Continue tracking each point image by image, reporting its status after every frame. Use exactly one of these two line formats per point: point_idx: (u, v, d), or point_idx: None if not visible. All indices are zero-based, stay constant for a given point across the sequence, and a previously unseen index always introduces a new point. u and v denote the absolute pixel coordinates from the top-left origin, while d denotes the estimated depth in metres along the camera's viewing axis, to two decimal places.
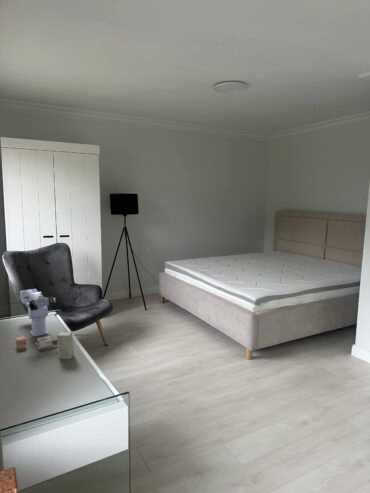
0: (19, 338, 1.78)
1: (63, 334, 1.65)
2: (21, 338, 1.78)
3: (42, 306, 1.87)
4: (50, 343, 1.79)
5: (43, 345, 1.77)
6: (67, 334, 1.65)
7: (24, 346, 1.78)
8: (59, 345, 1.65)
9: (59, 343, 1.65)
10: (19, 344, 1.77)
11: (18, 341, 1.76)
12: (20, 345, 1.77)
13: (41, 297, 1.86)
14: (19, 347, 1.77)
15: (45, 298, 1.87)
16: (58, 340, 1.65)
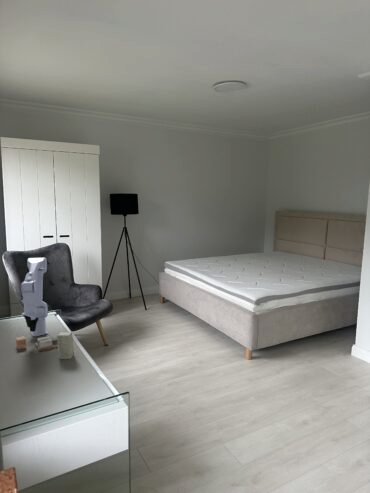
0: (19, 338, 1.78)
1: (63, 334, 1.65)
2: (21, 338, 1.78)
3: None
4: (50, 343, 1.79)
5: (43, 345, 1.77)
6: (67, 334, 1.65)
7: (24, 346, 1.78)
8: (59, 345, 1.65)
9: (59, 343, 1.65)
10: (19, 344, 1.77)
11: (18, 341, 1.76)
12: (20, 345, 1.77)
13: None
14: (19, 347, 1.77)
15: (27, 315, 1.75)
16: (58, 340, 1.65)
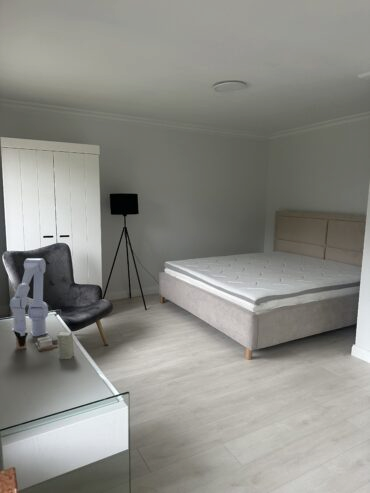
0: None
1: (63, 334, 1.65)
2: None
3: None
4: (50, 343, 1.79)
5: (43, 345, 1.77)
6: (67, 334, 1.65)
7: (24, 346, 1.78)
8: (59, 345, 1.65)
9: (59, 343, 1.65)
10: None
11: None
12: None
13: None
14: (19, 347, 1.77)
15: (16, 331, 1.75)
16: (58, 340, 1.65)
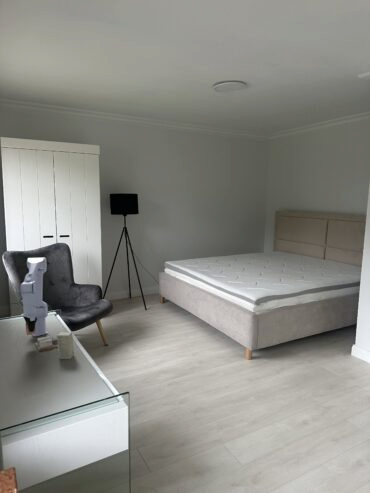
0: None
1: (63, 334, 1.65)
2: None
3: None
4: (50, 343, 1.79)
5: (43, 345, 1.77)
6: (67, 334, 1.65)
7: (33, 331, 1.77)
8: (59, 345, 1.65)
9: (59, 343, 1.65)
10: (28, 329, 1.76)
11: (27, 326, 1.76)
12: None
13: None
14: (28, 332, 1.76)
15: (26, 316, 1.74)
16: (58, 340, 1.65)
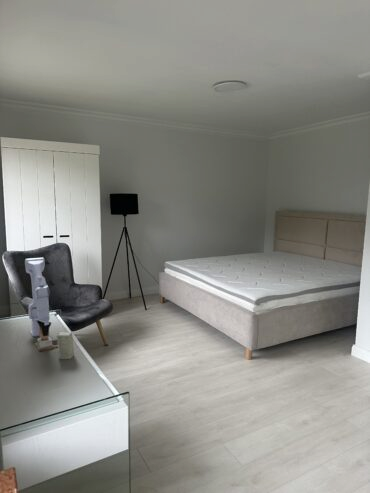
0: None
1: (63, 334, 1.65)
2: None
3: None
4: (50, 343, 1.79)
5: (43, 345, 1.77)
6: (67, 334, 1.65)
7: (47, 336, 1.78)
8: (59, 345, 1.65)
9: (59, 343, 1.65)
10: (42, 334, 1.77)
11: (41, 331, 1.76)
12: None
13: None
14: (42, 337, 1.77)
15: (40, 321, 1.75)
16: (58, 340, 1.65)
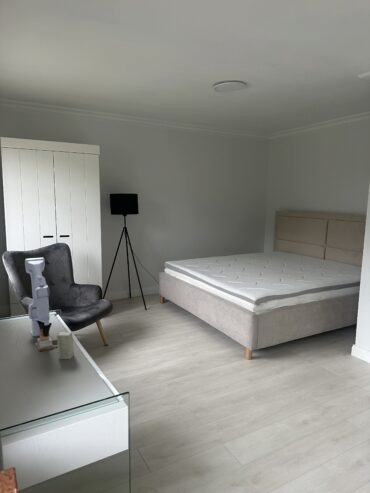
0: None
1: (63, 334, 1.65)
2: None
3: None
4: (50, 343, 1.79)
5: (43, 345, 1.77)
6: (67, 334, 1.65)
7: (47, 338, 1.78)
8: (59, 345, 1.65)
9: (59, 343, 1.65)
10: (42, 336, 1.77)
11: (41, 333, 1.77)
12: (43, 337, 1.77)
13: None
14: (42, 339, 1.77)
15: (40, 321, 1.75)
16: (58, 340, 1.65)
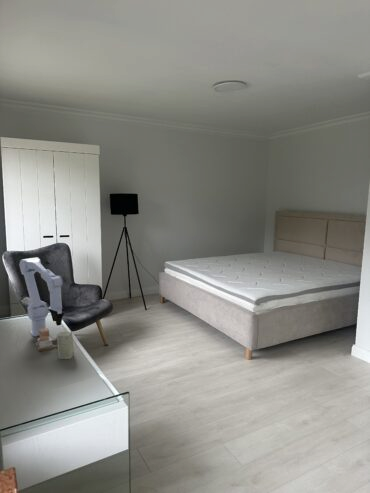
0: (42, 330, 1.79)
1: (63, 334, 1.65)
2: (44, 330, 1.79)
3: None
4: (50, 343, 1.79)
5: (43, 345, 1.77)
6: (67, 334, 1.65)
7: (47, 338, 1.78)
8: (59, 345, 1.65)
9: (59, 343, 1.65)
10: (42, 336, 1.77)
11: (41, 333, 1.77)
12: (43, 337, 1.77)
13: None
14: (42, 339, 1.77)
15: (53, 309, 1.82)
16: (58, 340, 1.65)
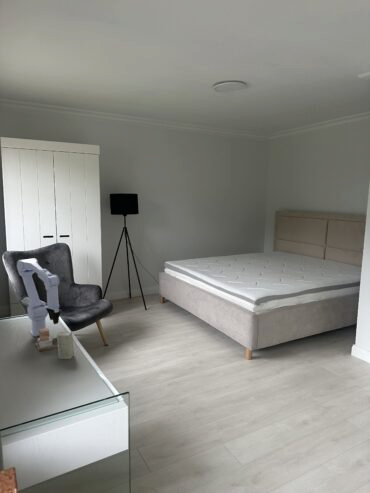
0: (42, 330, 1.79)
1: (63, 334, 1.65)
2: (44, 330, 1.79)
3: None
4: (50, 343, 1.79)
5: (43, 345, 1.77)
6: (67, 334, 1.65)
7: (47, 338, 1.78)
8: (59, 345, 1.65)
9: (59, 343, 1.65)
10: (42, 336, 1.77)
11: (41, 333, 1.77)
12: (43, 337, 1.77)
13: None
14: (42, 339, 1.77)
15: (50, 308, 1.83)
16: (58, 340, 1.65)
